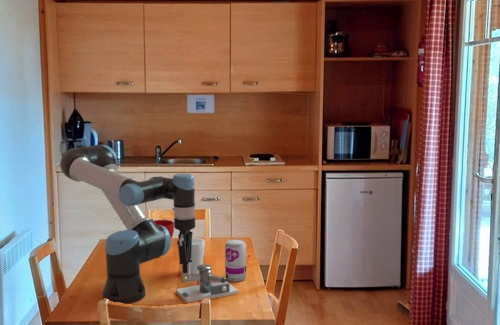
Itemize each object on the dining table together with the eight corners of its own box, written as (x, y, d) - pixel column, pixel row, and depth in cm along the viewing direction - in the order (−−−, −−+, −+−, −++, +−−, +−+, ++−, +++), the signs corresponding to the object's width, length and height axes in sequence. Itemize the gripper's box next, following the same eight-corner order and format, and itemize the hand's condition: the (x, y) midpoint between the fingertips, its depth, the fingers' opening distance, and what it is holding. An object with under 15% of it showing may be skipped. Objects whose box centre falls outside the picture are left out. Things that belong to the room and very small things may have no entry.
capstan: (227, 295, 203) (227, 271, 202) (189, 302, 196) (188, 278, 195) (209, 281, 217) (209, 259, 216) (173, 287, 211) (173, 264, 209)
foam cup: (201, 276, 227) (200, 245, 225) (179, 275, 229) (178, 244, 227) (207, 268, 236) (207, 238, 234) (186, 267, 238) (185, 237, 236)
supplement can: (238, 283, 219) (238, 245, 217) (221, 279, 223) (220, 242, 221) (250, 277, 226) (249, 240, 223) (232, 273, 230) (232, 237, 228)
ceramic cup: (140, 248, 265) (139, 228, 263) (152, 239, 281) (152, 219, 280) (167, 250, 263) (166, 229, 261) (177, 240, 279) (177, 220, 278)
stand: (188, 304, 199) (187, 292, 198) (175, 292, 210) (175, 281, 210) (239, 294, 208) (239, 283, 207) (225, 283, 219) (225, 272, 218)
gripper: (179, 212, 209) (180, 273, 213) (169, 221, 197) (171, 286, 200) (198, 213, 208) (200, 274, 212) (190, 222, 196) (192, 287, 199)
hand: (186, 280), depth 206 cm, fingers closed
